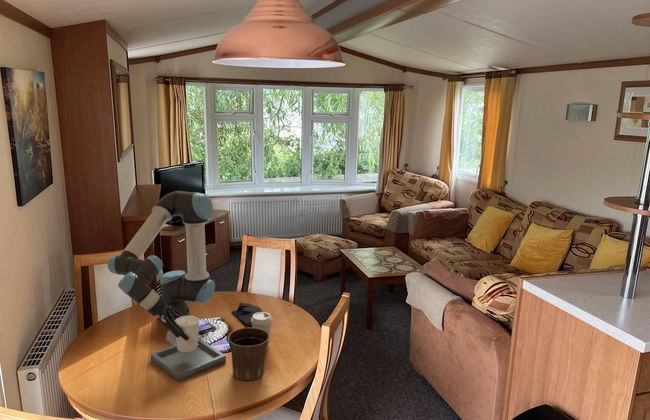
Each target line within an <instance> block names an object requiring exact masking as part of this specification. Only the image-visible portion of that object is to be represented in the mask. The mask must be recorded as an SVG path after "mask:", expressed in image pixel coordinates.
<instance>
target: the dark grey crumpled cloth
mask: <svg viewBox="0 0 650 420" xmlns="http://www.w3.org/2000/svg"><path fill="white" fill-rule="evenodd" d="M231 312H232V314H234V316H235V317H236V318H237V319H239V320H240V321H241V322H242V323H244V324H245V325H247V326H252V322H251V318H252V317H253V315H254V314H255V313H258V312H264V310H262V308H261V307H260V306H256V305H253V304H251V303H248V302H239V305H238V307H237V309H236V310H235V309H233V310H231Z"/></svg>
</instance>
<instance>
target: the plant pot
mask: <svg viewBox="0 0 650 420" xmlns="http://www.w3.org/2000/svg"><path fill="white" fill-rule="evenodd" d="M227 340H228V343H229V349H230V351H231V352H230V353H231V364H232V374H233V376H234V378H236V379H238V380H240V381H248V380H249V381H255V380H259V379H260V378H261V377H262V376H263V375H264V371H265V361H266V360H265V359H266V354H267V349H266V348H267V344H268V340H269V341H270V339H269V334H268V332H266V331H265V330H262V329H259V328H252V327H242V328H239V329H235V330H232V331H231V332H230V333H229V334H228V336H227Z"/></svg>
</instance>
